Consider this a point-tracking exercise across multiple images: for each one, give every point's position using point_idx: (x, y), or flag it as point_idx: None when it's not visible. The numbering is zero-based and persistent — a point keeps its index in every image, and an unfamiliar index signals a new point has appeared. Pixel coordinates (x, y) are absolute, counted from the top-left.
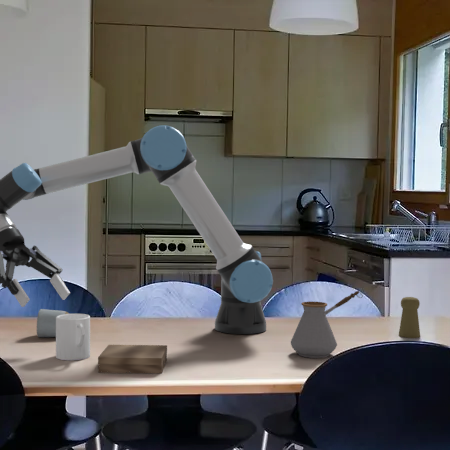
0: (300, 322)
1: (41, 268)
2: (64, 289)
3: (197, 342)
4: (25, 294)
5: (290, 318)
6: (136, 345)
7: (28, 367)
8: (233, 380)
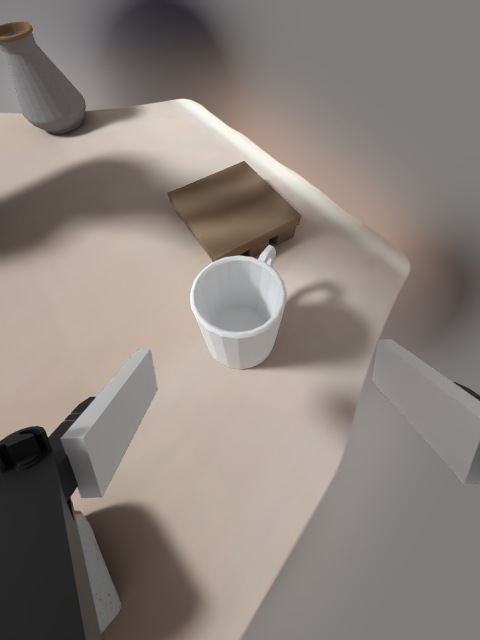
0: (42, 75)
1: (86, 591)
2: (141, 367)
3: (33, 242)
4: (401, 353)
5: None
6: (194, 222)
7: (354, 340)
8: (220, 128)
